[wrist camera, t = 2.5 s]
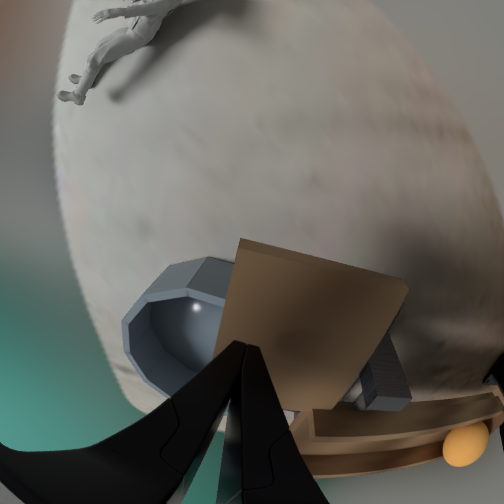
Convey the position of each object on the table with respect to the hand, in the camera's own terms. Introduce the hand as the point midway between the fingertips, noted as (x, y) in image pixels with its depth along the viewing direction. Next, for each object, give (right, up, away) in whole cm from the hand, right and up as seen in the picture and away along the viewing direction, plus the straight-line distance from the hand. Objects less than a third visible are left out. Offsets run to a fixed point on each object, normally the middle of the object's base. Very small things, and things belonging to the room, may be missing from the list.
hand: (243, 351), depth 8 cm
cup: (-2, -2, +11) cm, 11 cm away
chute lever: (+9, -5, +4) cm, 11 cm away
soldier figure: (-7, +17, +4) cm, 19 cm away
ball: (+16, -11, +3) cm, 20 cm away
